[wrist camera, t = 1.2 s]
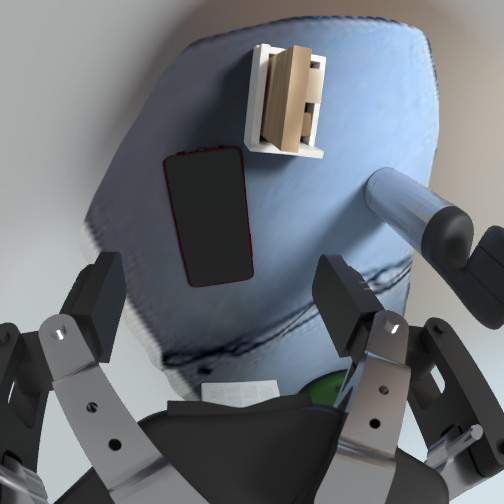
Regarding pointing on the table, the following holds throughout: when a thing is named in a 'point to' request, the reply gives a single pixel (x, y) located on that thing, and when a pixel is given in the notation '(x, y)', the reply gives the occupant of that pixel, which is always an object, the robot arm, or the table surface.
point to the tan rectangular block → (285, 98)
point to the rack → (257, 99)
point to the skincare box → (239, 392)
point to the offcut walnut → (306, 125)
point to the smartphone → (211, 214)
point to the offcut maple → (314, 86)
